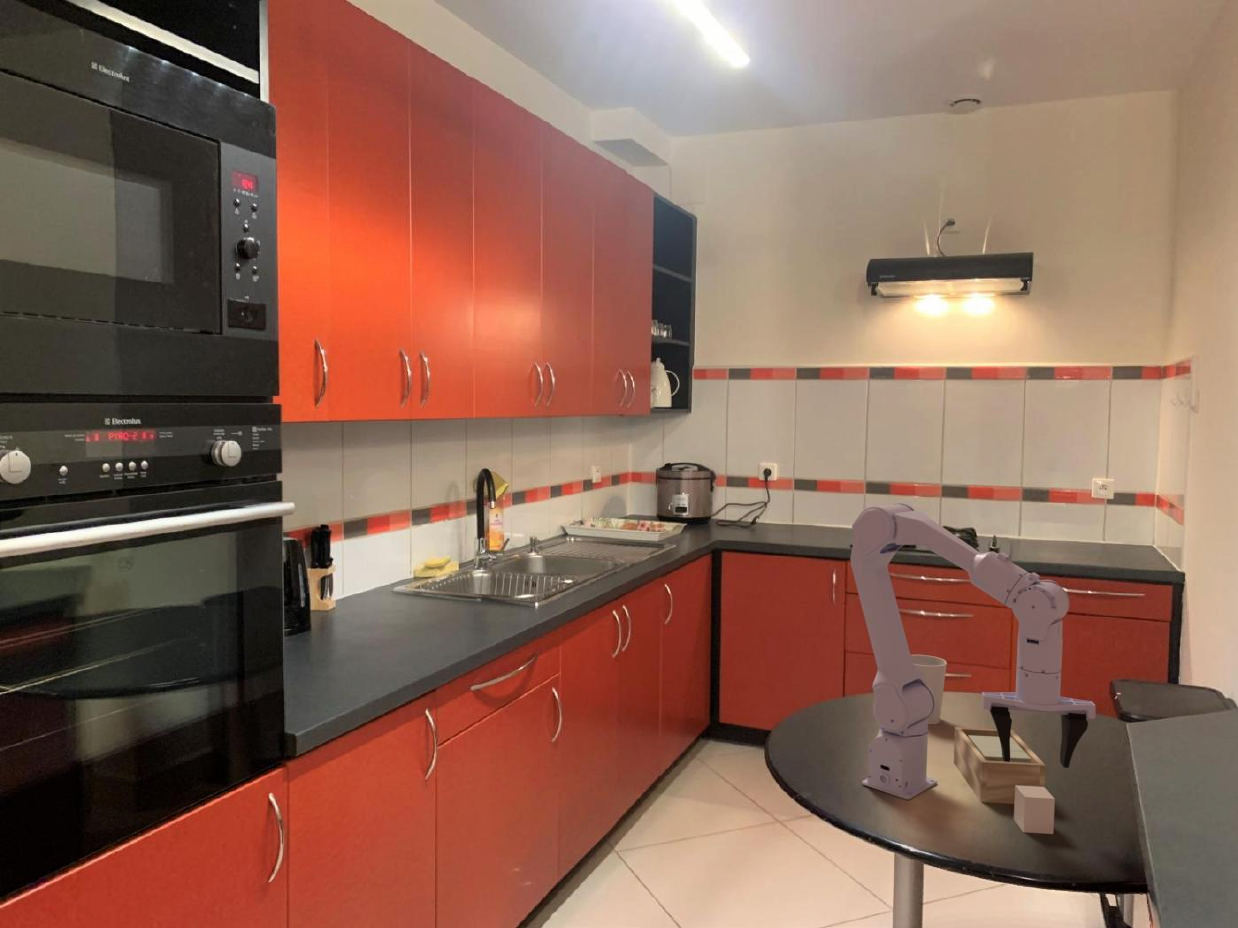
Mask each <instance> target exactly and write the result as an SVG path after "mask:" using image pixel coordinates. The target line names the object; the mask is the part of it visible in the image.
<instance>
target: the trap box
mask: <svg viewBox="0 0 1238 928" xmlns="http://www.w3.org/2000/svg"><path fill="white" fill-rule="evenodd" d="M968 735H972V736H992V737H999V735H998V731H997V728H996V729H995V728H979V727H974V728H973V727H960V726H959V727H954V741H953V742H954V746H953V747H954V749H953V764H954V765H955V768H957V770H958V771H959V773H960V774H961V775H962V777H963V778H964V780H965V782H966V783H967V785H968V786H969V787H970V789H971V790H972V791H973V793H974V795H975V796H976V798H977V799H978V800H979V802H980V803H993V804H1012V805H1013V804H1015V785H1018V786H1036V787H1045V788H1046V776H1047V775H1046V770H1047V765H1046V764H1045V763H1044V761H1042V760H1041V759H1040V758H1039V757H1038V756H1037V755H1036V753H1035V752H1034V751H1033V750H1032V749H1031V748H1030V747H1029V746H1028V745H1027V744H1026V743H1025V742H1024V740H1022V739H1021V737H1020V736H1019V735H1018V734H1017V733H1016V732H1015V731H1014V730H1012V729H1011V733H1010V737H1011V738H1012V739H1013V740H1014V741H1015V742H1016V743H1017V744H1018V745H1019V746H1020V747H1021V748H1022V749H1023V751H1024V752H1025V753H1026V754H1027V755H1028V756H1029V757H1030V758H1031V763H1025V762H1005V761H987V760H985V759H984V757H983V756H982V755H981V754H980V752H979V751H978V750H977V748H976V747H975V746H974V745H973V743H972V742H971V741H970V740H969V738H968Z"/></svg>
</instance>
